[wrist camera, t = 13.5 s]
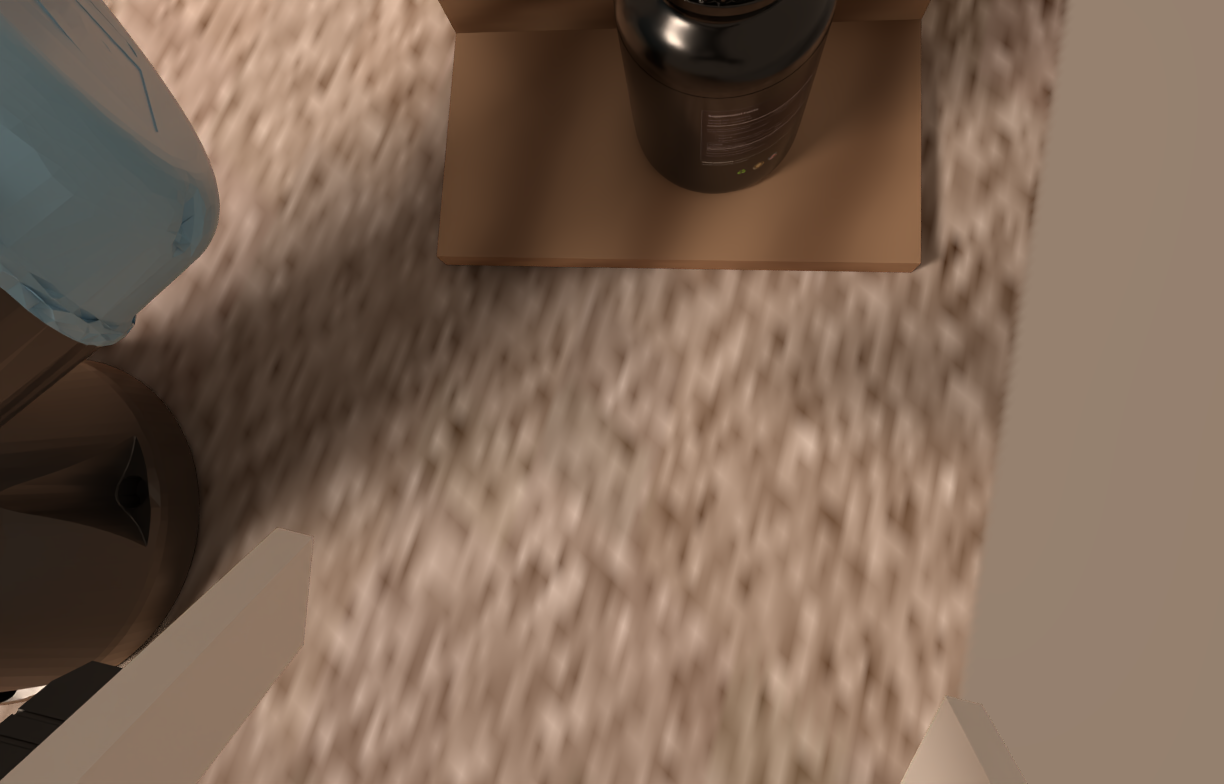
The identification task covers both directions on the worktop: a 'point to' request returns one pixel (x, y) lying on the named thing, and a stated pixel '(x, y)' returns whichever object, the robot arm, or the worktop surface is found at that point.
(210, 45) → the worktop surface
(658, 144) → the supplement bottle
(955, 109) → the worktop surface
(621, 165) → the walnut shelf
